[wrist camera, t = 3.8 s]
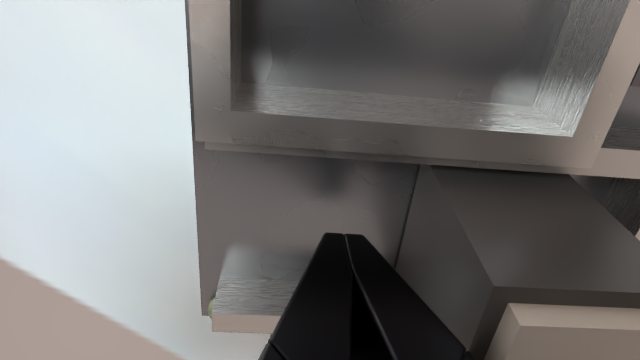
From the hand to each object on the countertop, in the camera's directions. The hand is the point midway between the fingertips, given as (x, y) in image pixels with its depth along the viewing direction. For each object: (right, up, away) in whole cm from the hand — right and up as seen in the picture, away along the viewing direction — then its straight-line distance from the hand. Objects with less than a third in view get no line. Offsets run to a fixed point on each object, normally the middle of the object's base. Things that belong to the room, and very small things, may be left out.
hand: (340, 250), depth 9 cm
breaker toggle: (+3, 0, +1) cm, 3 cm away
